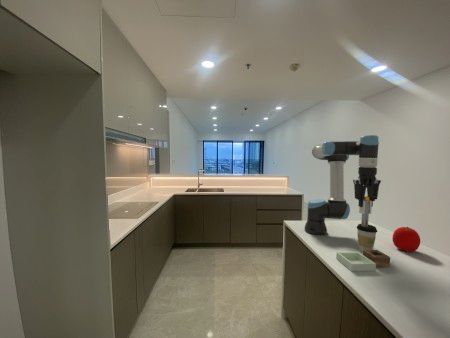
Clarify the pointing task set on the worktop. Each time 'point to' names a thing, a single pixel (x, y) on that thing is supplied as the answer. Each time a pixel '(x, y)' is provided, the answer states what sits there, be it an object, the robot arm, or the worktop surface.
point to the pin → (366, 215)
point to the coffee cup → (366, 237)
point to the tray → (356, 261)
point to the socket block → (377, 258)
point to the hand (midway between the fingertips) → (365, 213)
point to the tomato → (406, 239)
